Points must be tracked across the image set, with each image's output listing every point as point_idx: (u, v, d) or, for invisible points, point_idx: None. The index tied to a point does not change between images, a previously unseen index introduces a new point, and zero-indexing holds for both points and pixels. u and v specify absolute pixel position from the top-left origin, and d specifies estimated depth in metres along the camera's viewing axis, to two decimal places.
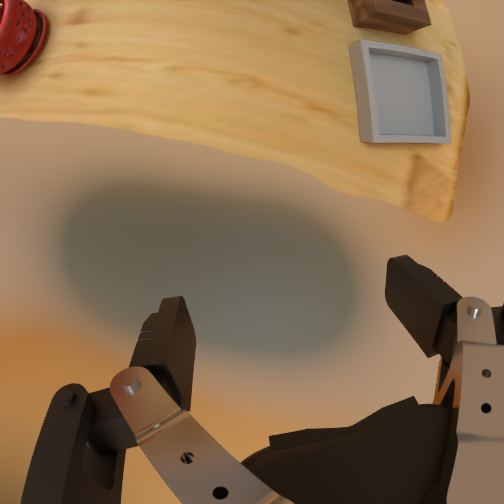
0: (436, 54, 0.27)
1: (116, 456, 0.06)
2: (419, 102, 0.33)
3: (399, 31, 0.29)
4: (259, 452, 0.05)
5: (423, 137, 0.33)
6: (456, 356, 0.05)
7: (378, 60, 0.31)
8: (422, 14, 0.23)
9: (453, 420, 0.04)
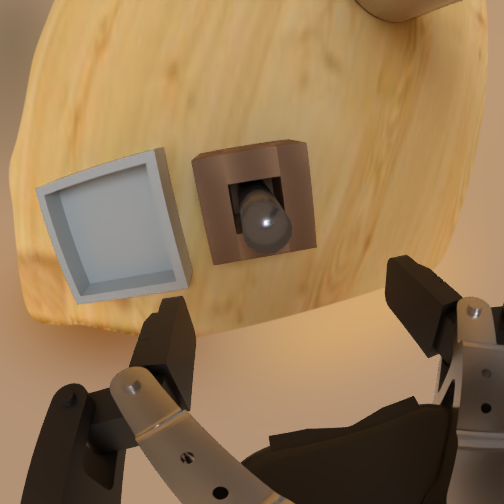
0: (183, 279, 0.29)
1: (116, 456, 0.06)
2: (117, 257, 0.30)
3: None
4: (259, 452, 0.05)
5: (63, 260, 0.27)
6: (456, 356, 0.05)
7: (150, 190, 0.28)
8: (226, 249, 0.25)
9: (453, 420, 0.04)
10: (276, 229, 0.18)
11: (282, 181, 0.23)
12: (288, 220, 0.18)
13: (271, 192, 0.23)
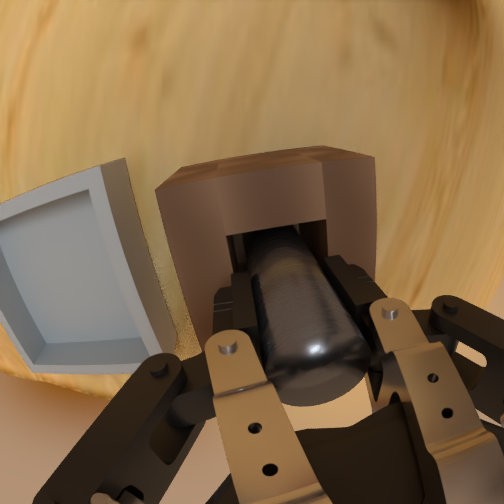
0: None
1: (189, 433, 0.07)
2: (73, 316, 0.20)
3: None
4: None
5: (5, 321, 0.16)
6: (389, 367, 0.06)
7: None
8: None
9: None
10: (339, 369, 0.07)
11: (328, 228, 0.12)
12: (367, 350, 0.07)
13: (307, 247, 0.13)
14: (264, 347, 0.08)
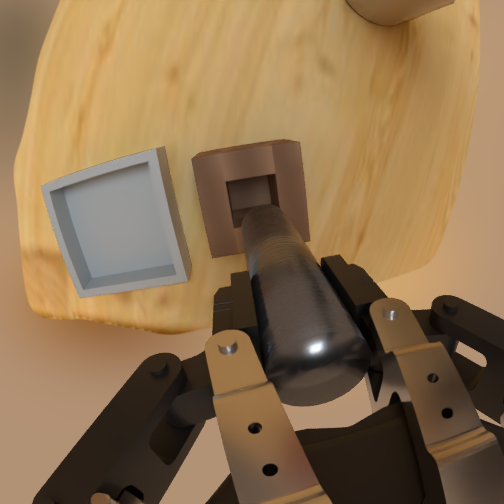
0: (183, 273, 0.30)
1: (189, 433, 0.07)
2: (119, 252, 0.32)
3: None
4: None
5: (67, 255, 0.28)
6: (389, 367, 0.06)
7: (151, 187, 0.29)
8: (224, 243, 0.26)
9: None
10: (338, 369, 0.07)
11: (277, 178, 0.24)
12: (367, 350, 0.07)
13: (307, 247, 0.13)
14: (264, 347, 0.08)
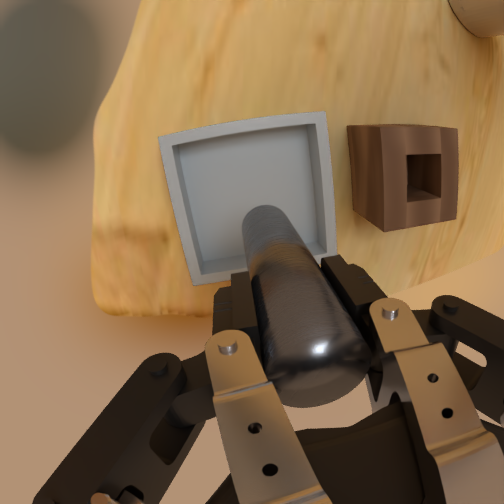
0: (334, 251, 0.27)
1: (189, 433, 0.07)
2: None
3: (356, 196, 0.28)
4: None
5: (187, 229, 0.25)
6: (389, 367, 0.06)
7: (299, 155, 0.26)
8: (396, 216, 0.23)
9: None
10: (338, 370, 0.07)
11: (442, 158, 0.21)
12: (367, 352, 0.07)
13: (307, 248, 0.13)
14: (264, 348, 0.08)
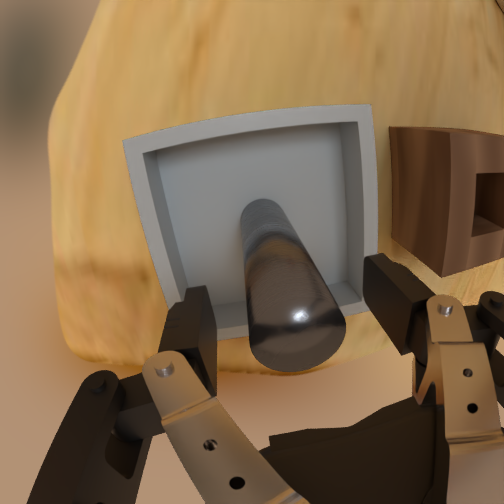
0: None
1: (140, 446, 0.06)
2: None
3: (398, 222, 0.21)
4: (259, 452, 0.05)
5: (169, 275, 0.17)
6: (433, 357, 0.05)
7: (328, 166, 0.18)
8: (458, 257, 0.15)
9: None
10: (315, 334, 0.09)
11: None
12: (341, 318, 0.08)
13: (297, 235, 0.14)
14: (249, 313, 0.09)
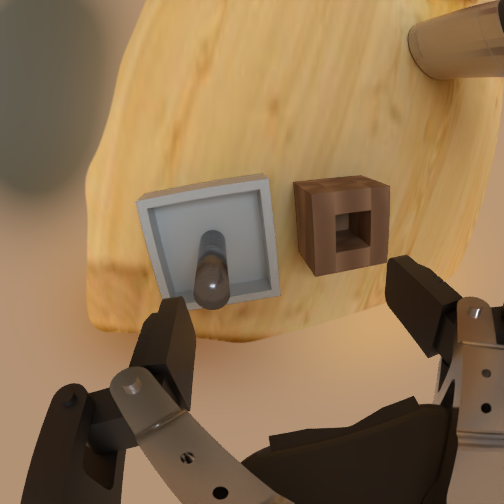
0: (278, 288, 0.35)
1: (116, 456, 0.06)
2: None
3: (299, 242, 0.36)
4: (259, 452, 0.05)
5: (160, 272, 0.32)
6: (456, 356, 0.05)
7: (250, 210, 0.34)
8: (326, 264, 0.31)
9: (453, 420, 0.04)
10: (217, 293, 0.24)
11: (371, 214, 0.29)
12: (226, 287, 0.23)
13: (223, 252, 0.29)
14: (194, 285, 0.24)
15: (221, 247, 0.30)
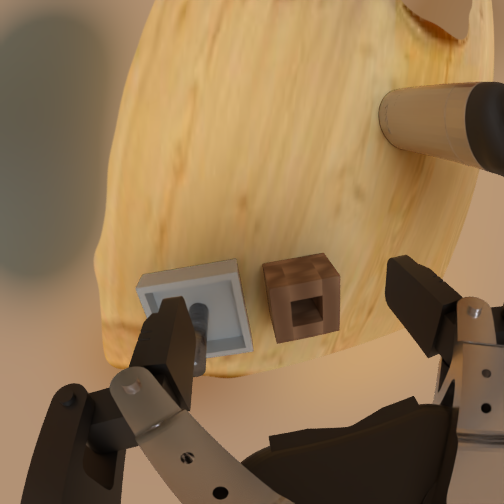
0: (250, 346, 0.43)
1: (116, 456, 0.06)
2: None
3: (269, 309, 0.44)
4: (259, 452, 0.05)
5: None
6: (456, 356, 0.05)
7: (227, 288, 0.42)
8: (285, 335, 0.38)
9: (453, 420, 0.04)
10: (197, 368, 0.32)
11: (323, 298, 0.36)
12: (202, 364, 0.32)
13: (203, 329, 0.37)
14: None
15: (202, 323, 0.38)
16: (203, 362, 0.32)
